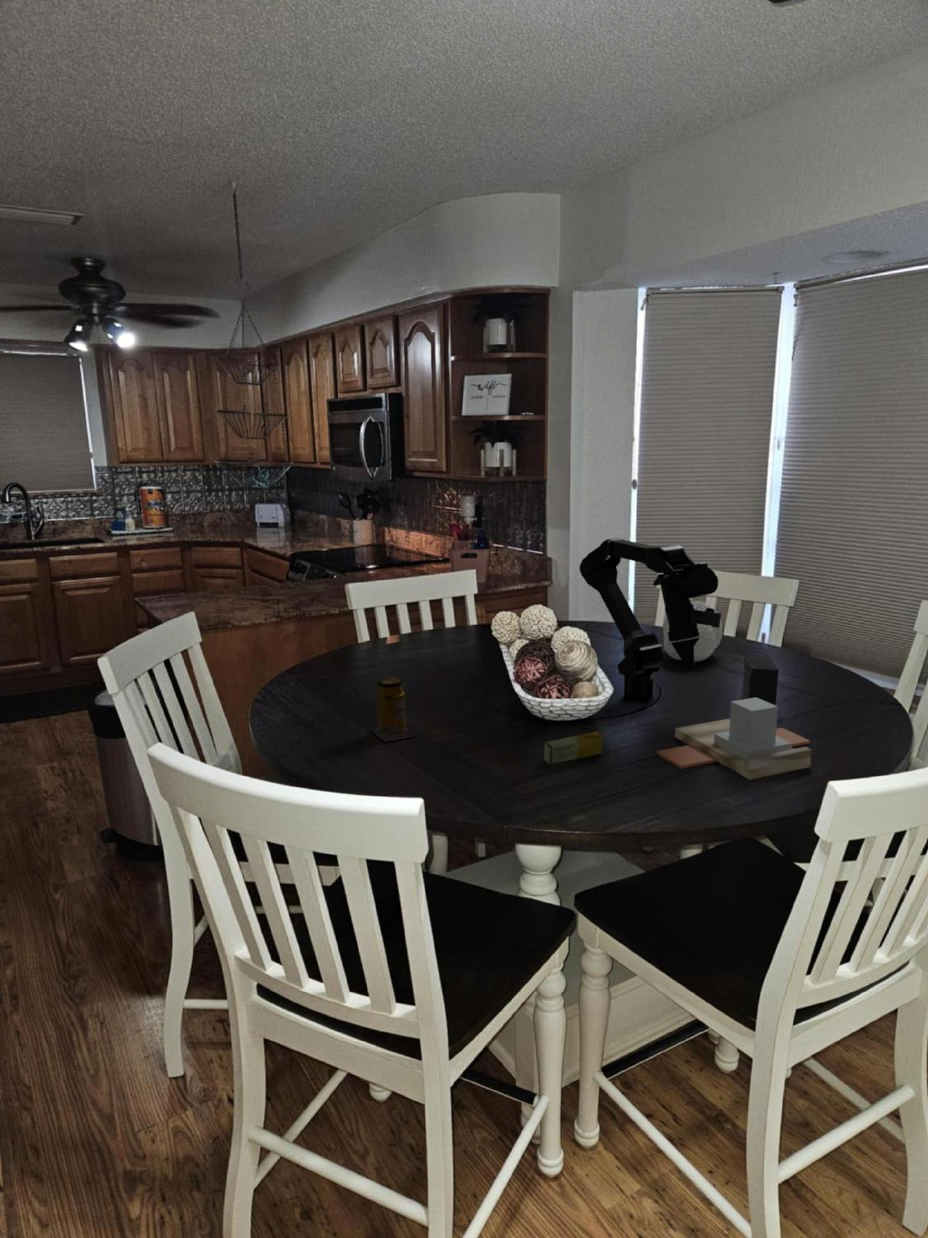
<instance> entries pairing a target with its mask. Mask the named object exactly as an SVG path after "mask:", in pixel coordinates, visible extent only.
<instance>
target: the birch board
mask: <svg viewBox="0 0 928 1238" xmlns="http://www.w3.org/2000/svg"><path fill="white" fill-rule="evenodd" d="M674 730H675V731H674V737H675V738H676V739H677V740H679V741H681V742H683V743H684V744H686V745H692V746H694V747H695V748H697V749H699V750H701V751H702V752H704V753H706V754H708V755H710V756H711V757H713V758H715V759H716V762H718V763H720V764H721V765H723V766H725V767H726V768H729V769H730V770H732V771H733V772H735V773H737V774H739V775H741V776H742V777H744V778H746V779H748V780H749V781H750V780H755V779H759V778H765V777H769V776H773V775H780V774H783V773H787V772H793V771H798V770H802V769H807V768H811V761H812V760H811V759H812V748H810V747H809V748H808V747H807V746H803V747H798V748H794V747H791V750H787V751H782V752H777V753H772V754H767V755H762V756H757V757H752V758H747V759H745V760H744V759H742V758H740V757H738V756H737V755H735V754H733V753H731V752H729V751H727V750H726V749H724V748H722V747H720V746H718V745H716V744H715V743H714V734H715V733H720V732H726V731H729V730H730V718H726V719H719V720H714V721H709V722H703V723H697V724H691V725H686V726H680V727H675V729H674Z"/></svg>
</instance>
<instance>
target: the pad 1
mask: <svg viewBox="0 0 928 1238" xmlns="http://www.w3.org/2000/svg"><path fill="white" fill-rule="evenodd" d="M656 755H658V756H659V757H660V758H662V759H664V760H665V761H667V762H669V763H670V764H672V765H674V766H675V767H677V768H678V769H680V770H683V769H689V768H692V767H699V766H702V765H707V764H713V763H716V762H717V761H716V759H715V758H713V757H711V756H710V755H708V754H706V753H704V752H702V751H701V750H699V749H697V748H695V747H694V746H692V745H688V744H686V745H682V746H675V747H672V748H668V749H667V748H666V749H662V750H661V749H660V750H657V751H656Z"/></svg>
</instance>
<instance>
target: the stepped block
mask: <svg viewBox="0 0 928 1238" xmlns="http://www.w3.org/2000/svg"><path fill="white" fill-rule="evenodd" d="M778 709H779V707H778V706H777V705H776V706H775V705H773V704H771V703H768V702H766V701H764V700H761V699H759V698H756V697H755V698H749V699H743V700H742V699H739V700H732V701H730V711H729V712H730V715H729V719H730V730H729V731H726V732H720V733H715V734H714V743H715V744H716V745H718V746H720V747H722V748H724V749H726V750H727V751H729V752H731V753H733V754H735V755H737V756H738V757H740V758H742V759H744V760H745V759H747V758H752V757H757V756H762V755H767V754H772V753H777V752H782V751H787V750H791V748H792V747H791V743H790V742H788V741H786V740H784V739H782V738H779V737H777V736H776V729H777V727H778V725H777V722H778V712H779V711H778Z"/></svg>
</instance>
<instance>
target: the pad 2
mask: <svg viewBox="0 0 928 1238" xmlns="http://www.w3.org/2000/svg"><path fill="white" fill-rule="evenodd" d="M776 736H777V737H779V738H782V739H784V740H786V741H788V742H790V743H791V748H794V747H798V746H804V745H810V744H811V740H810V739H807V738H805V737H803V736H802V735H798V733H797V734H796V733H795V732H792V731H790V730H787V729H785V728H783V727H778V728H776Z"/></svg>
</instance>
